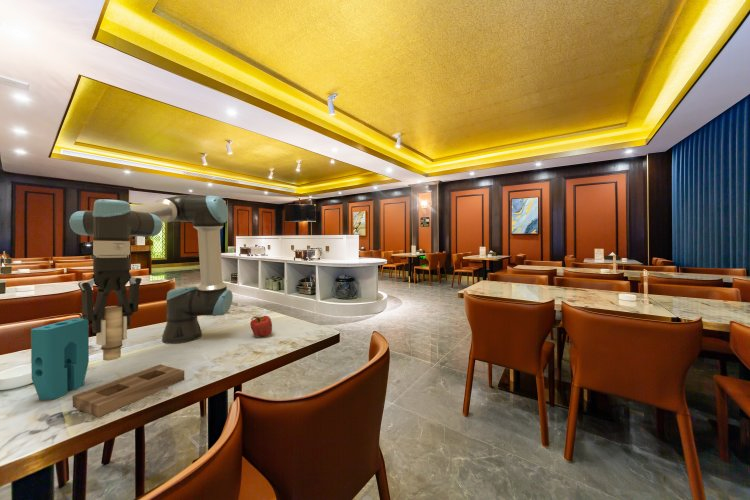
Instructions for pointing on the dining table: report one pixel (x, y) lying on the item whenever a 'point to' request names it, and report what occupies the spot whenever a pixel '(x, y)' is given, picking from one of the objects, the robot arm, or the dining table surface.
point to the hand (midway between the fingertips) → (111, 341)
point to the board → (126, 390)
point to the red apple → (261, 326)
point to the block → (59, 357)
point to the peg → (112, 332)
